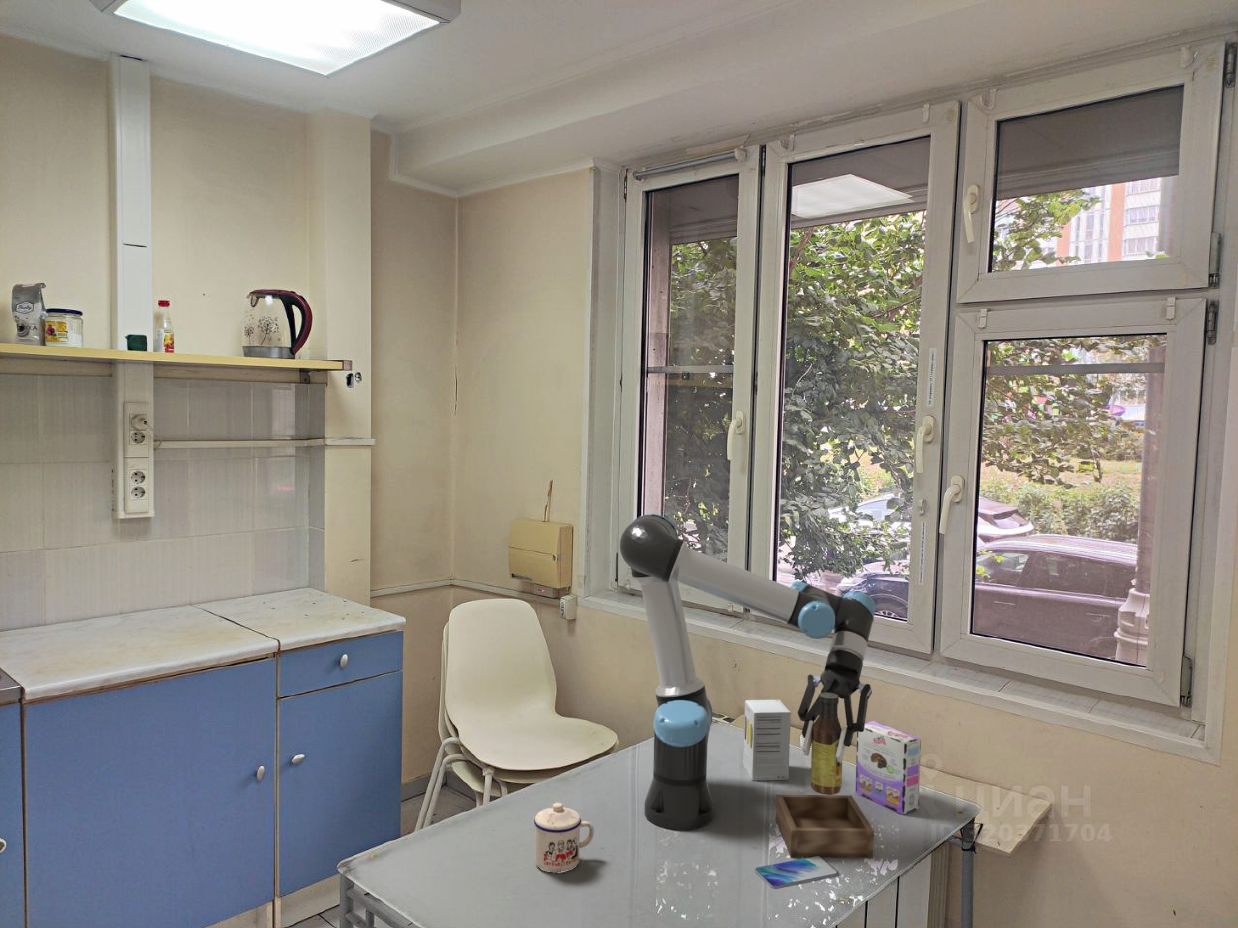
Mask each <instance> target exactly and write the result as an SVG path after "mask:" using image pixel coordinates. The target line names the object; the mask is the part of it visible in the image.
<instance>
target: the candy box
mask: <svg viewBox="0 0 1238 928" xmlns="http://www.w3.org/2000/svg"><path fill="white" fill-rule="evenodd" d="M921 749H922V738H921V737H919V736H915V735H913V734H910V733H907V732H904V731H901V730H898V729H896V728H893V727H890V726H888V725H885V724H882V723H880V722H877V721H874V720H872V721H868V722H865V727H864V731H863V732H859V731H857V732H856V753H855V754H856V759H855V760H856V761H855V763H856V764H855V768H856V769H855V791H854V792H855V794H856V795H859V796H861V797H863V798H865V797H866V798H865V799H867V800H869V799H870V801H872V802H874V803H877V804H878V805H881V806H883V807H885V808H887V809H889V810H892V811H894V812H897V813H899V814H901V815H905V814H908V813H911V812H914V811H917V810H919V806H920V805H919V803H920V778H921V777H920V776H921V774H920V773H921V771H920V770H921V752H922V751H921Z"/></svg>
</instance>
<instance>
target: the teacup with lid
mask: <svg viewBox="0 0 1238 928" xmlns="http://www.w3.org/2000/svg"><path fill="white" fill-rule="evenodd" d="M533 823H534V828H535V829H534V832H535V833H534V864H535V863H536V864H535V866H536V865H537V866H538V867H540V868H541V869H543V870H546V871H550V872H561V871H566V870H570V869H572V868H574V867H575V866H577V864H578V863H579V864H580V849H582V848H584V847H587V846H589V844H590V843H591V842H592V840H593V839H594V834H595V828H594V826H593V824H592V823H591V822H589V821H585V820H584V821H582V818H581V816H580V814H579V812H577V811H576V810H574V809H572V808H568V807H565V806H564V805H563V804H562V803H561V802H555V803H553V804H552V807H547V808H544V809H542V810H541V811H539V812H537V814H536V815H535V817H534V819H533ZM583 827H588V828H589V832H588V836H587V838H586V839H585V840H583V841H582V842H580V837H581V835H580V833H581V828H583ZM579 864H578V865H579ZM537 866H536V867H537ZM538 867H537V868H538ZM577 867H578V866H577Z"/></svg>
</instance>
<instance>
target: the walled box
mask: <svg viewBox="0 0 1238 928" xmlns="http://www.w3.org/2000/svg"><path fill="white" fill-rule="evenodd" d="M774 818H775V822H776V825H777V827H778V829H779V832H780V834H781V837H782V840H783V842H784V844H785V846H786V848H787V851H788V855H789V856H790V858H809V857H814V856H820V857H822V858H823V859H824V858H826V859H827V858H829V859H874V847H875V845H874V844H875V843H874V841H875V830H874V829H873V827H872V826H871V824H870V822H869V821H868V819H867V817H866V816H865V815H864V812H863V811H862V810H861V808H860V806H859V805H858V803H857V802H856V800H855V798H854V797H853V796H852V795H851V794H849V795H847V794H846V795H843V794H842V795H839V794H832V795H827V794H775V817H774Z"/></svg>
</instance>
